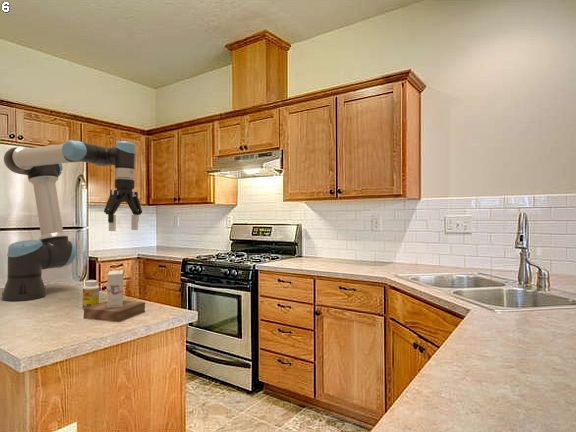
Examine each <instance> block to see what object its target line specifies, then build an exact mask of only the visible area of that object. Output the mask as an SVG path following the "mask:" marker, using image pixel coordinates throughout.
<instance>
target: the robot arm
mask: <svg viewBox="0 0 576 432" xmlns="http://www.w3.org/2000/svg"><path fill="white" fill-rule="evenodd" d="M3 162H4V165H5V167H6V168H7V169H8V170H9V171H10V172H13V174H18V175H24V176H27V181H28V182H29V183H31V184H32V185H33V193H34V200H35V204H36V210H37V218H38V224H39V231H40V237H39V238H38V239H28V240H27V239H26V240H19V241H15V242H12V243H10V244H9V246H8V248H7V249H8V250H7V255H6V256H7V275H6V276H7V277H6V278H7V280H6V283H5V285H4V288H3V290H2V293H1V300H2V301H8V302H19V301H20V302H21V301H31V300H36V299H40V298H44V297H46V296H47V289H46V288H45V284H44V281H43V278H42V273H43V272H42V271H43V270H48V269H55V268H57V269H58V268H63V267H67V266H69V265H71V264H72V263H73V262H74V260H75V258H76V256H77V247H76V244H74V242H73V241H70V240H69V236H68V235H67V234H65V233H64V229H63V228H64V227H63V223H62V218H61V217H62V216H61V210H60V205H59V197H58V191H57V185H56V183H57V181H58V180H59V177H60V176H61V175H62V171H63V168H64V167H63V164H69V163H81V162H82V163H88V164H94V165H95V166H100V167H106V166H114V178H115V180H114V188H115V189H110V192H109V197H108V199H107V202H106V205H105V207H104V210H103V212H104V213H105V215H107V222H108V231H109V232H116V231H117V229H116V228H117V226H116V225H117V215H116V214H115V213H116V212H117V210H118V208H119V207H120V206H121V204H122V203H126V204H127V206H128V207H129V209H130V211H131V213H132V214H131V225H130V226H131V229H130V230H131V231H138V230H139V217H140V215H142V213H143V210H142V206H141V203H140V200H139V193H138V191H133V190H134V189H135V180H134V179H135V178H136V177H135V174H136V173H135V170H136V168H135V167H136V166H135V165H136V146H135V143H133V142H131V141H127V140H117V141H116V142H115V145H114V147H113V146H112V147H111V146H110V147H107V146H106V147H105V146H101V145H97V144H91V143H86V142H83V141H79V140H73V139H70V140H69V139H68V140H66V141H65V142H64V143H61V144H53V145H47V146H39V147H38V146H37V147H30V148H29V147H28V146H27V147H26V146H18V147H17V146H16V147H11V148H10V149H8V150H6V152H5V153H4V155H3Z"/></svg>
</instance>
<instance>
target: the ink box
mask: <svg viewBox="0 0 576 432" xmlns="http://www.w3.org/2000/svg"><path fill="white" fill-rule="evenodd" d="M106 283H107V287H106V288H107V289H106V290H107V292H106V293H107V297H106V298H107V299H106V301H107V308H116V307H122V306H123V300H124V270H123V269H121V270H109V271H108V274H107V282H106Z"/></svg>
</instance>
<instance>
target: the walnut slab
mask: <svg viewBox="0 0 576 432" xmlns="http://www.w3.org/2000/svg"><path fill="white" fill-rule="evenodd" d="M145 311H146V302H144V301H134V300H124V299H123V306H122V307H116V308H107V300H106V301H103V302H99V304H96V305H93V306H90V307H86V308H83V319H88V320H95V321H97V320H98V321H104V322H105V321H106V322H107V321H108V322H114V323H120V322H123V321H125V320H128V319H129V318H133V317H135V316H137V315H140V314H143V313H145Z"/></svg>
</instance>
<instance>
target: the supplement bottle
mask: <svg viewBox="0 0 576 432" xmlns="http://www.w3.org/2000/svg"><path fill="white" fill-rule="evenodd" d="M99 303H100V285H98V280H95V279H89V280H85V282H84V286H83V287H82V308H83V309H84V308H86V307H90V306H93V305H96V304H99Z"/></svg>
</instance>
